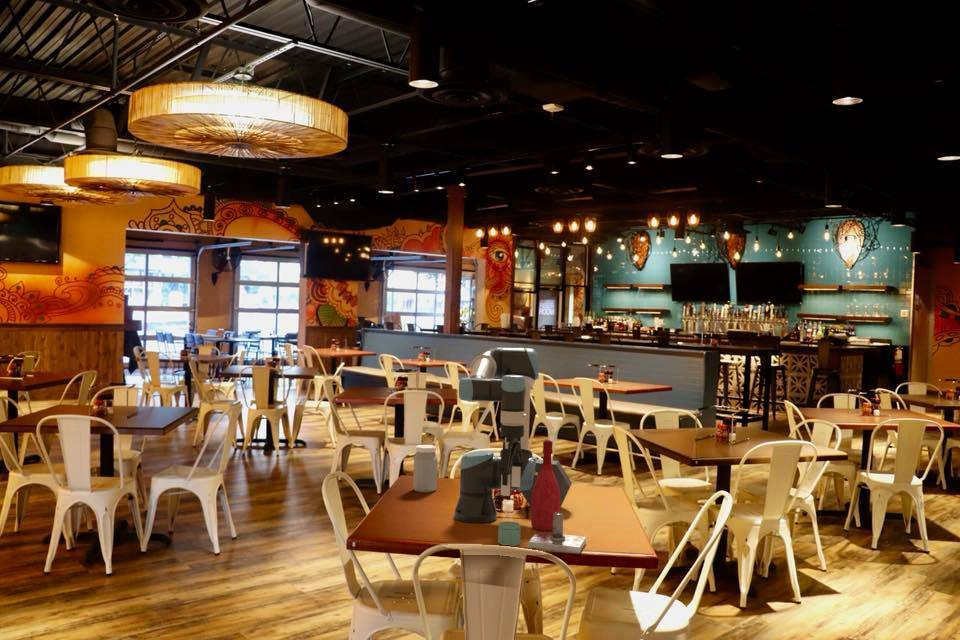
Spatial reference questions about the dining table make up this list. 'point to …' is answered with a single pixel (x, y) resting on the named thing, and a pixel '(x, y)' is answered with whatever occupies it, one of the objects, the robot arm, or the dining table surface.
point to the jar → (425, 469)
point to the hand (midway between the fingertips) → (510, 491)
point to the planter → (559, 474)
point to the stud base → (557, 539)
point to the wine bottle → (545, 493)
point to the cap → (509, 533)
